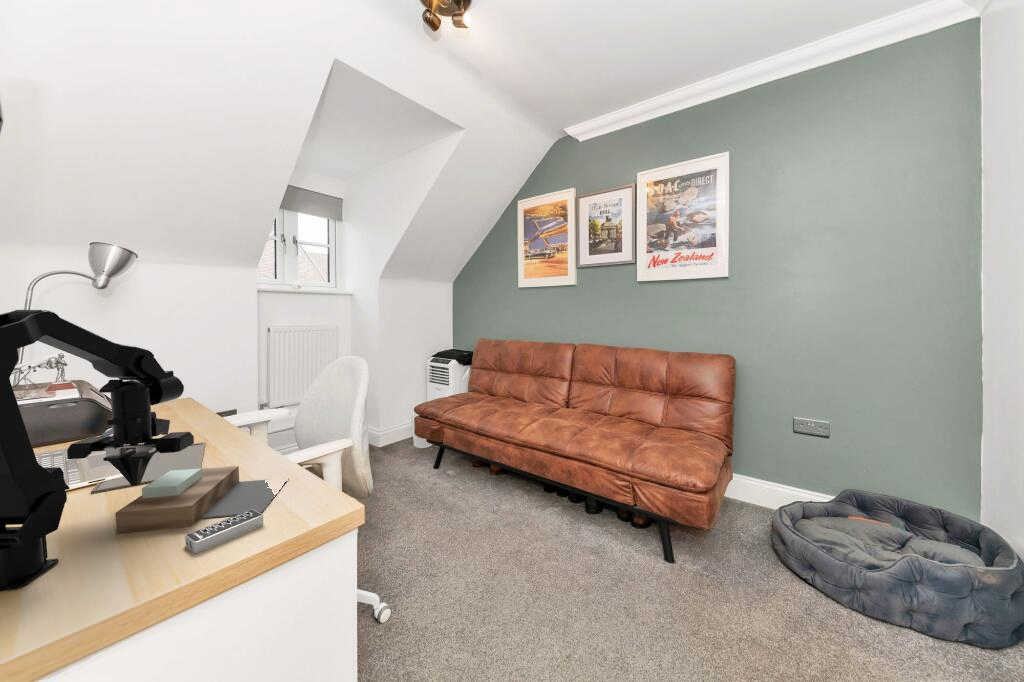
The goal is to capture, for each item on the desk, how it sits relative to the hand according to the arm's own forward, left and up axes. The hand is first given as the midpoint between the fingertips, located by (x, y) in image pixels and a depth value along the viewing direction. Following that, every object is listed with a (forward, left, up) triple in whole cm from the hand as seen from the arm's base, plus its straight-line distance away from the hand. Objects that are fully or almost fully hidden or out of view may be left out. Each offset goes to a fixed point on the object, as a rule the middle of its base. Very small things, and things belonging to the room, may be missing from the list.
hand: (136, 485), depth 81 cm
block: (0, -7, -1) cm, 7 cm away
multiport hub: (-15, -22, -6) cm, 27 cm away
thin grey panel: (+27, +11, -6) cm, 30 cm away
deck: (0, -9, -5) cm, 10 cm away
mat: (+1, -20, -5) cm, 21 cm away
